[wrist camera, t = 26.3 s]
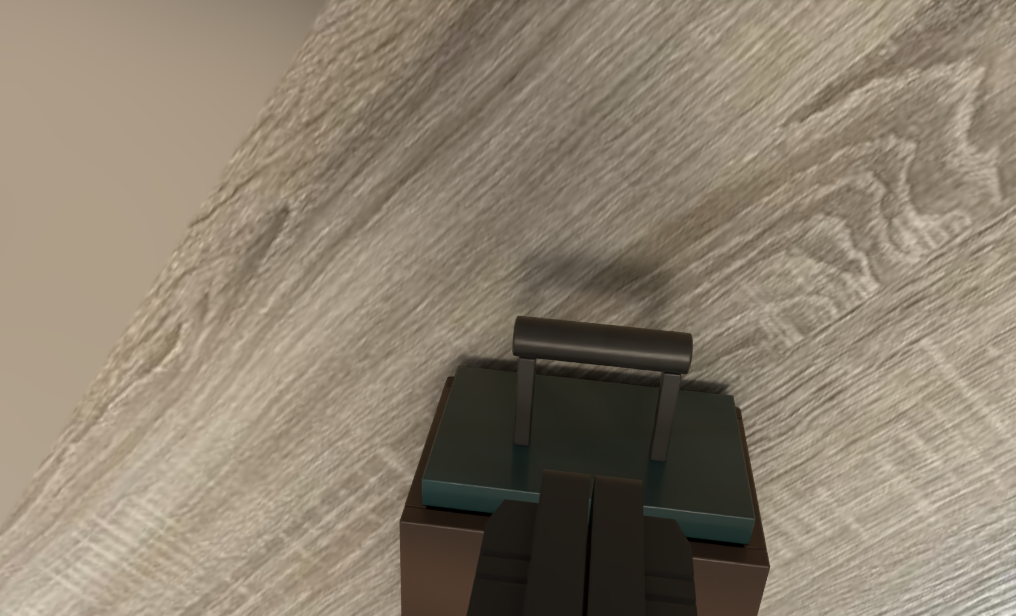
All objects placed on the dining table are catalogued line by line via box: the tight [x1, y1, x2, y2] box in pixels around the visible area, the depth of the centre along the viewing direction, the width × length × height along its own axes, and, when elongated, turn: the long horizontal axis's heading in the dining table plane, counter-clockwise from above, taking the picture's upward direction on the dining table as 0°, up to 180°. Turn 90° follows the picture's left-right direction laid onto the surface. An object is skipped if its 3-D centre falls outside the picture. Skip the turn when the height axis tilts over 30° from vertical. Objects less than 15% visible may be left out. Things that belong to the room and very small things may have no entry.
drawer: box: [422, 316, 755, 545], centre depth 35 cm, size 19×11×7 cm, turn 177°
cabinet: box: [400, 377, 770, 616], centre depth 37 cm, size 15×13×9 cm
